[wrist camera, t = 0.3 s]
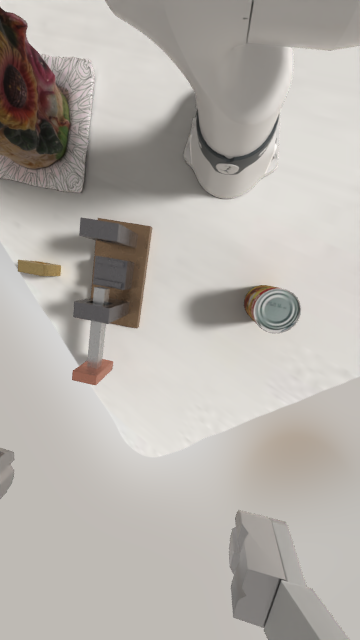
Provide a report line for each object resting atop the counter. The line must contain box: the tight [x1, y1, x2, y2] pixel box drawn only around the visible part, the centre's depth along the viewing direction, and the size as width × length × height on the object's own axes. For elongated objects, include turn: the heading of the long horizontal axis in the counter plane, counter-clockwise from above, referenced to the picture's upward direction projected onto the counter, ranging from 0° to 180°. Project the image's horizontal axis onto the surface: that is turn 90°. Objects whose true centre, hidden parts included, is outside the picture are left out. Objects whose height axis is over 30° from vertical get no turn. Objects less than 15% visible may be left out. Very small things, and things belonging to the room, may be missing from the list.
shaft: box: [72, 287, 113, 385], centre depth 49 cm, size 19×5×8 cm, turn 170°
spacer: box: [18, 260, 61, 276], centre depth 54 cm, size 2×6×6 cm, turn 80°
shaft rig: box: [73, 218, 152, 328], centre depth 49 cm, size 23×12×12 cm, turn 170°
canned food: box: [244, 285, 301, 333], centre depth 46 cm, size 8×8×12 cm
